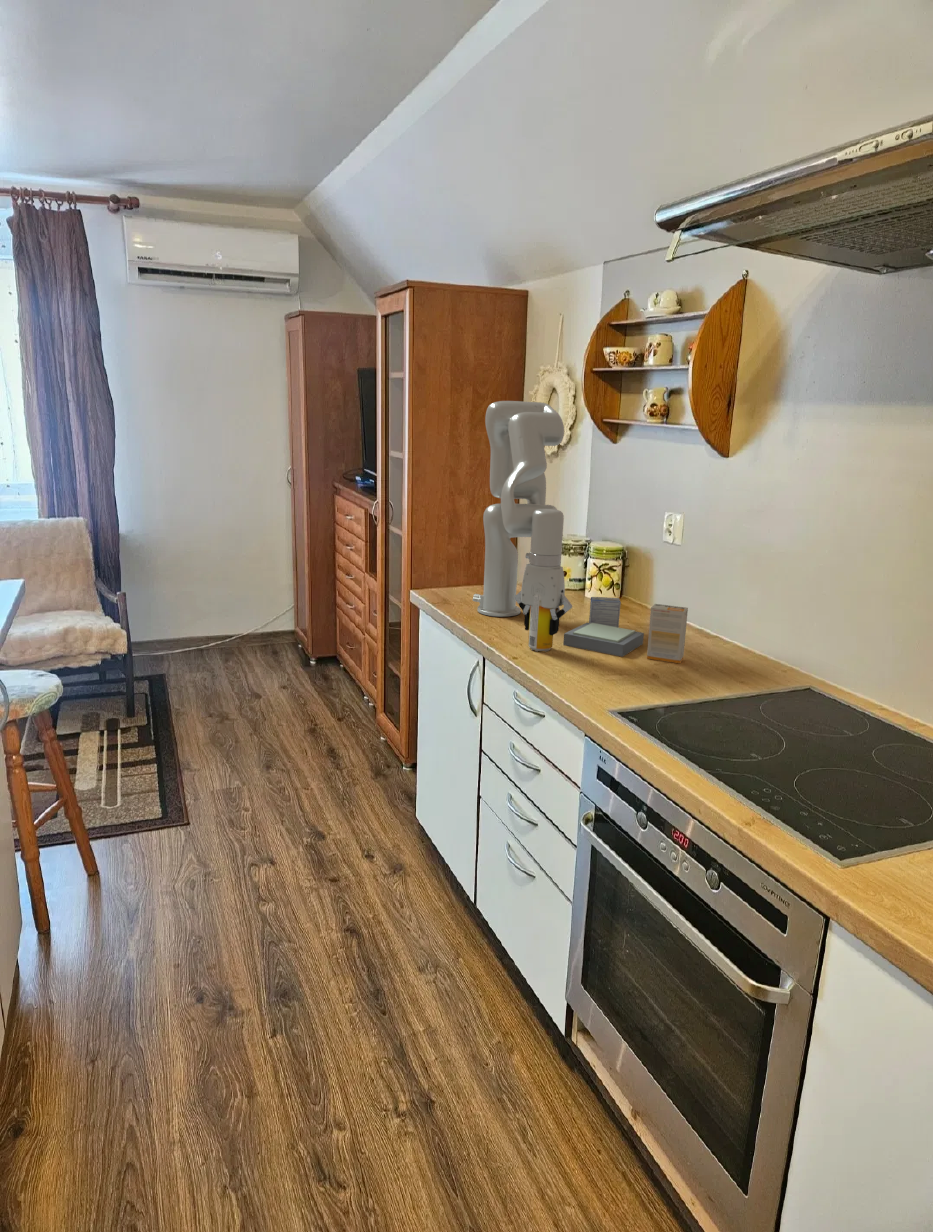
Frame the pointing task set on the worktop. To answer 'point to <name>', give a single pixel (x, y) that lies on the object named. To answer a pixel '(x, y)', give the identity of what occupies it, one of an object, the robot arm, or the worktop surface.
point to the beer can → (539, 626)
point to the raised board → (603, 639)
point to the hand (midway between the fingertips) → (541, 630)
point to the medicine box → (605, 611)
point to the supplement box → (667, 633)
